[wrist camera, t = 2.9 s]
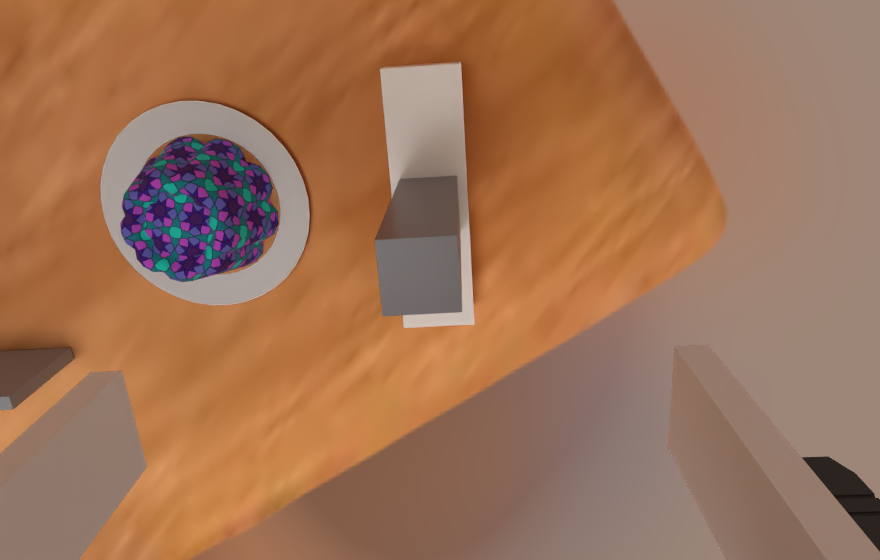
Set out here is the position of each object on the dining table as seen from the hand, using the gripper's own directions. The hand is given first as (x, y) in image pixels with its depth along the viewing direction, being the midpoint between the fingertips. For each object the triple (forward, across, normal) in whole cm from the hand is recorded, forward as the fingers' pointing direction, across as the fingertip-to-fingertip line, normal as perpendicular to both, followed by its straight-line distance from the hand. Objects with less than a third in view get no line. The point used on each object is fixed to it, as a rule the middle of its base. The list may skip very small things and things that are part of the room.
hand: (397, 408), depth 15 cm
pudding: (+23, -13, 0) cm, 27 cm away
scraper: (+23, 0, 0) cm, 23 cm away
